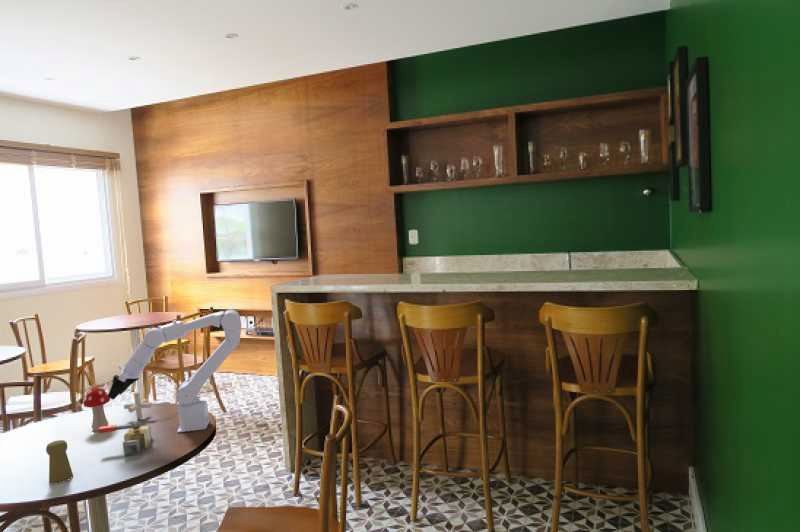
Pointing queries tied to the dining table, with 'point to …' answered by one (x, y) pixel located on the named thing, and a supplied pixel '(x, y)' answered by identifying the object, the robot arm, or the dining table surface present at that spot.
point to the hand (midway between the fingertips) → (114, 395)
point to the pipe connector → (138, 405)
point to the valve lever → (118, 427)
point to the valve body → (136, 440)
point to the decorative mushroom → (97, 406)
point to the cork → (58, 462)
